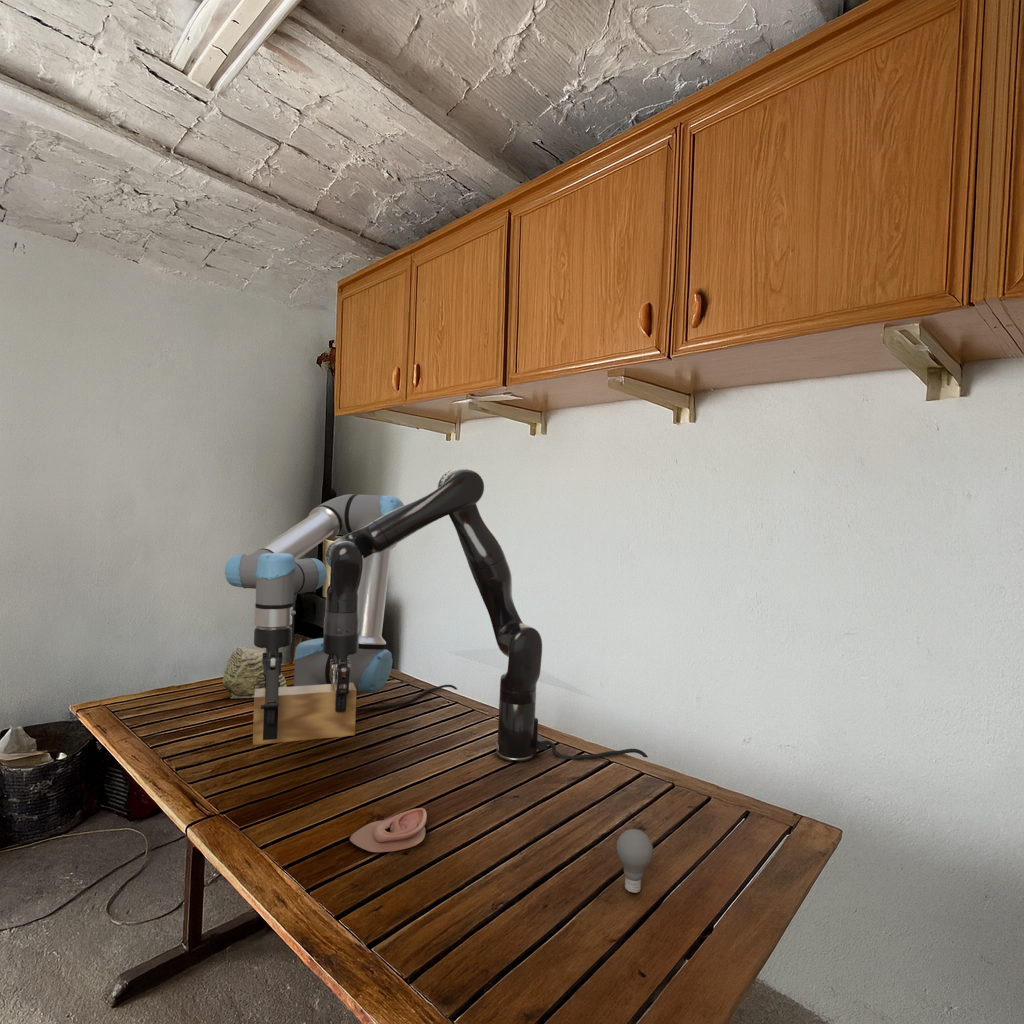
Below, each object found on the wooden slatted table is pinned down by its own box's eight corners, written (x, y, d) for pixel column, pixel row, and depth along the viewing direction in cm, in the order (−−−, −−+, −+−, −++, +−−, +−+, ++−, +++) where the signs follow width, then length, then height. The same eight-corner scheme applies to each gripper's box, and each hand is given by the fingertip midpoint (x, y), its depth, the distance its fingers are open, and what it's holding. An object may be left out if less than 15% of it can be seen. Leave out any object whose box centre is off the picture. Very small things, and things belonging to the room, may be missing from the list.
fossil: (218, 695, 195) (220, 647, 195) (278, 685, 208) (279, 640, 207) (228, 703, 189) (230, 653, 188) (289, 692, 201) (290, 645, 201)
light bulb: (610, 879, 108) (613, 822, 108) (644, 879, 109) (647, 822, 109) (619, 902, 102) (622, 840, 102) (655, 901, 103) (658, 840, 103)
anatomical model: (342, 825, 115) (369, 797, 126) (341, 847, 115) (368, 817, 126) (412, 836, 112) (433, 806, 123) (411, 859, 112) (432, 826, 123)
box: (252, 745, 130) (254, 697, 130) (253, 734, 136) (254, 688, 136) (354, 735, 138) (356, 690, 138) (351, 726, 143) (353, 682, 143)
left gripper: (294, 638, 124) (290, 747, 124) (290, 615, 147) (286, 708, 147) (253, 639, 121) (249, 751, 122) (255, 616, 144) (251, 710, 144)
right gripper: (363, 637, 134) (360, 716, 134) (354, 623, 147) (352, 695, 147) (326, 638, 131) (323, 719, 131) (321, 624, 144) (318, 698, 145)
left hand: (269, 728), depth 134 cm, fingers open, 12 cm apart
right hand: (338, 706), depth 139 cm, fingers closed on box, 5 cm apart
